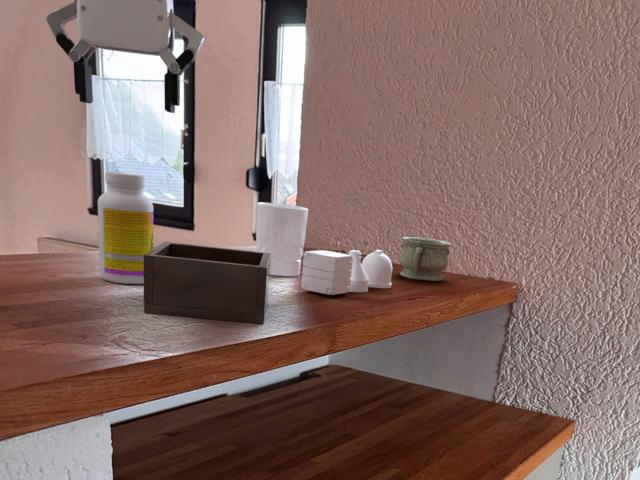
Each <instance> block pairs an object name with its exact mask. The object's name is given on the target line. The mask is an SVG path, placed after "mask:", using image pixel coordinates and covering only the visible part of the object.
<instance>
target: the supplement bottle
mask: <svg viewBox="0 0 640 480" xmlns="http://www.w3.org/2000/svg"><path fill="white" fill-rule="evenodd" d="M104 174H105V175H104V181H105V185H106V186H107V187H106V189H107V190H106V192H104V193H102V194H101V195H99V197H98V199H97V224H98V225H97V227H98V260H99V261H98V264H99V265H98V267H99V275H100V277H101V278H102V279H103V280H105V281H108V282H110V283H115V284H124V285H144V255H145V254H146V253H148V252H149V251H151V250H152V249H154V205H153V203H152V201H151V200H150V198H148V197H147V196H145V193H144V189H145V187H146V176H145V175H143V174H137V173H130V172H129V173H128V172H122V171H121V172H120V171H110V170H109V171H107V170H106V171H105V172H104Z"/></svg>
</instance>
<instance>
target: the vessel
mask: <svg viewBox="0 0 640 480" xmlns="http://www.w3.org/2000/svg"><path fill="white" fill-rule="evenodd" d="M401 239H402V241H403V242H402V244H401V251H400V254H399V256H398V261H399V264H400V265H401V266H402V267H403V268H402V270H400V275H401V276H402V277H404V278H409V279H413V280H420V281H432V282H439V281H443V276H442V272H444V271H446V270H447V268H448V267H449V254H450V247H451V246H452V243H451V242H448V241H444V240H438V239H432V238H425V237H415V236H403V237H401Z"/></svg>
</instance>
